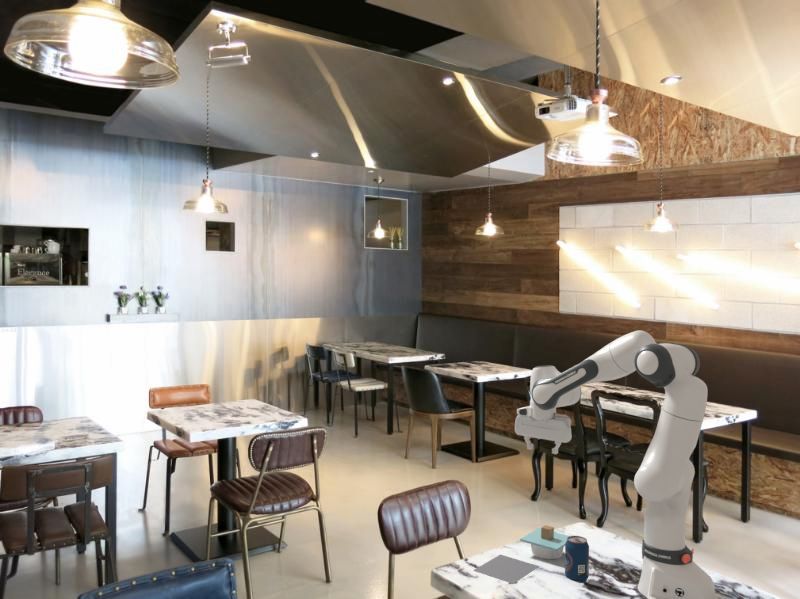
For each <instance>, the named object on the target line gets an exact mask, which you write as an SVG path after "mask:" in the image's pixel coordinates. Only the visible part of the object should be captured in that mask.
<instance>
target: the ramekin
mask: <svg viewBox="0 0 800 599" xmlns="http://www.w3.org/2000/svg"><path fill="white" fill-rule="evenodd" d="M530 550H531V553H532V554H533V555H534V556H535V557H537V558H539V559H540V558H541V559H546V560H555V559H560V558H562V556H563V552H564V547H562V548H561V549H559V550H558V551H555V550H551V549H548V548H544V547H541V546H537V545H533V544H530Z"/></svg>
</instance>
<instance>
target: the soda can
mask: <svg viewBox="0 0 800 599" xmlns="http://www.w3.org/2000/svg"><path fill="white" fill-rule="evenodd" d="M568 536H569V537H568V538H567V541H566V543H565V546H564V548H565V549H564V551H565V552H564V574H565V577H566V578H567V579H569V580H571V581H576V582H579V584H582V583H585V582H586V581H587V580H588V579H589V577H590V572H589V571H590V546H589V544H588V539H587V538H586V537H583V536H580V535H568Z"/></svg>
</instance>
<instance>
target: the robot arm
mask: <svg viewBox="0 0 800 599" xmlns="http://www.w3.org/2000/svg"><path fill="white" fill-rule="evenodd" d="M700 365H701V360H700V356H699V355H698V354H697V352H696V351H695V350H694V348H691V347H689V346H687V345H683V344H679V343H678V344H673V343H669V342H668V343H665V342H661V343H657V341H656V340H655V339H654V337H653V336H652V335H651V334H650V333H648V332H647V331H645V330H641V329H640V330H634V331H632V332H629V333H627V334H624V335H622V336H619V337H618V338H615V339H614V340H613V341H611V342H610V343H607V344H606V345H605V346H603V347H602V348H601V349H599V350H597V351H596V352H594V353H593V354H592V355H590V356H588V357H587V358H585V359H584V360H583V361H581V362H579V363H578V364H575V365H573V366H572V367H570V368H568V369H567V370H565V371H563V372H560V371H559V370H558V369H557V368H556V366H554V365H552V364H549V365H548V364H546V365H538V366H535V367H533V368H532V370H531V374H530V381H529V382H530V385H529V391H530V400H529V405H526V406H524V407H523V406H522V407H519V408H517V409H516V414H517V416H516V417H515V422H514V432H515V434H516V435H517V436H523V439H524V441H525V443H526V447H527V448H526V449H527V450H530V451H531V450H534V443H532V442H531V438H534V439H535V438H536V439H540V440H545V441H546V440H547V441H552V442H554V445H555V446H554V447H553V448H551V454H554V455H557V454H559V448H560V446H561V445H562V443H564V444H567V443H569V442H570V441H571V440H572V438H573V435H572V428H571V426H572V419H571V417H569V416H568V415H567V414H561V413H557V408H562V407H568V406H573V405H575V404H577V403H578V402H579V401H580V399H581V396H582V388H581V387H582V386H584V385H588V384H592V383H600V382H607V381H608V382H609V381H615V380H618V379H621V378H623V377H627V376H629V375H630V374H633V373H634V372H635V371H636V372H637V373H638V375H639V376H641V377H642V378H643V379H644V380H647V381H648V382H650V383H651V384H652V385H654V386H655V387H656V388H658V389H659V388H663V389H664V399H663V404H662V406H661V410H660V413H659V418H658V421H657V424H656V425H657V426H656V429H655V431H654V435H653V437H652V439H651V442H650V443H649V445H648V447H647V449H646V452H645V454H644V456H643V460H642V462H641V464H640V466H639V467H638V470H637V471H636V473H635V475H634V479H633V484H634V488H635V490H636V492H637V493H638V495H640V496H641V497H642V498H643V499H644V500H646V501H648V502H647V506H646V509H645V511H644V513H643V514H644V516H643V518H644V519H643V521H644V523H643V524H644V525H643V527H644V528H643V538H644V539H642V544H641V556H642V566H641V567H642V568H641V573H640V574H641V575H640V577H639V578H640V579H639V581H638V585H637V590H638V591H639V593H640V594H641V595H642V596H644V597H645V598H646V599H724V597H723V596H722V595H721V594H720V593H717V592H716V589H715V585H714V581H713V579H712V577H711V576H710V575H709V574H708V573H707V572H706V571H705V570H704V569H702V568H701V567H700V566H699V565H698V564H697V563H696V562H694V560H693V559H694V556H693V554H694V550H695V549H694V548H692V549H690V548H689V547H688V546H687V544H686V531H687V530H686V526H687V524H686V522H687V515H688V514H687V513H688V508H689V503H690V499H691V498H690V497H691V490H692V483H693V480H694V477H695V474H696V471H695V466H694V464H693V462H692V461H691V460H690V459H691V455H692V453H693V452H694V450H695V448H696V446H697V444H698V440H699V437H700V432H701V429H702V427H703V426H702V425H703V422H704V419H705V413H706V408H707V404H708V403H707V402H708V386H707V384H706V383H705V381H704V380H702V379H700V378H699V377H697V376H696V374H697V373H698V372H699V369H700V367H701V366H700Z"/></svg>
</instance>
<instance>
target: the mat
mask: <svg viewBox="0 0 800 599" xmlns="http://www.w3.org/2000/svg"><path fill="white" fill-rule="evenodd" d="M539 567H540V565H536V564H533V563H530V562H526V561H524V560H519V559H517V558H513V557H511V556H507V555H504V554H498V555H497V556H495V557H494V558H492V559H490V560H488V561H487V562H484V563H483V564H481V565H480V566H478V567H476V568H475V569H473V572H476V573H479V574H483V575H486V576H488V577H491V578H494V579H498V580H499V581H500V580H501V581H503V582H506V583H509V584H513V585H514V584H515V583H517V582H518V581H520V580H522V579H523V578H525V576H527V575H529V574H530V573H531V572H533V571H535V570H536V569H538V568H539Z"/></svg>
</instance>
